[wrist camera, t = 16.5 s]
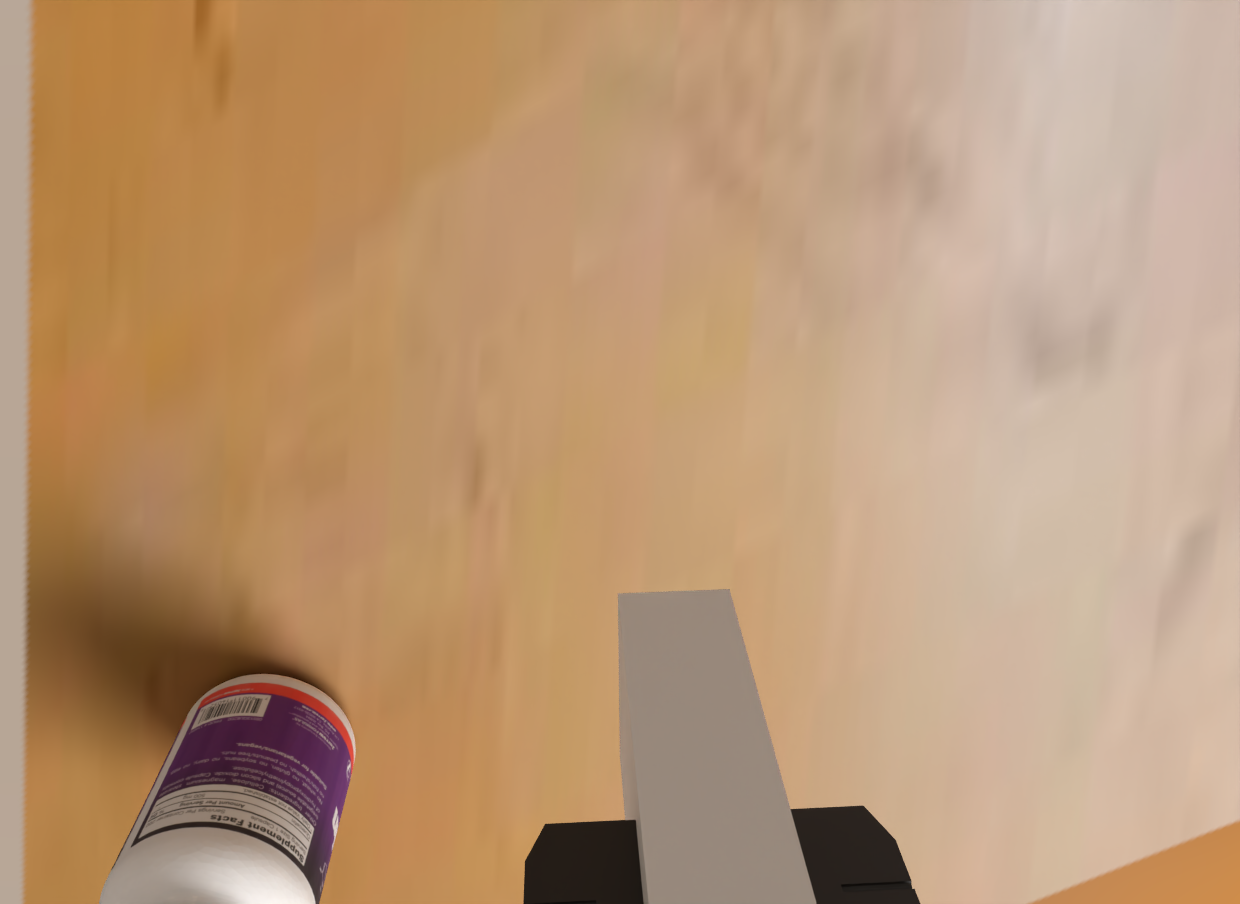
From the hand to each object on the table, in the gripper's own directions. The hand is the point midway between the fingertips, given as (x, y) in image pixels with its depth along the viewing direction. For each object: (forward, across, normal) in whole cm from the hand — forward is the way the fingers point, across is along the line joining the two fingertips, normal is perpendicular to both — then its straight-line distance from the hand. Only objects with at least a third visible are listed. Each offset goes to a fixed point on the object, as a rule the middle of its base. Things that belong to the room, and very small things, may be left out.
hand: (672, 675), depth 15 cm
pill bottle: (+30, -16, -24) cm, 42 cm away
